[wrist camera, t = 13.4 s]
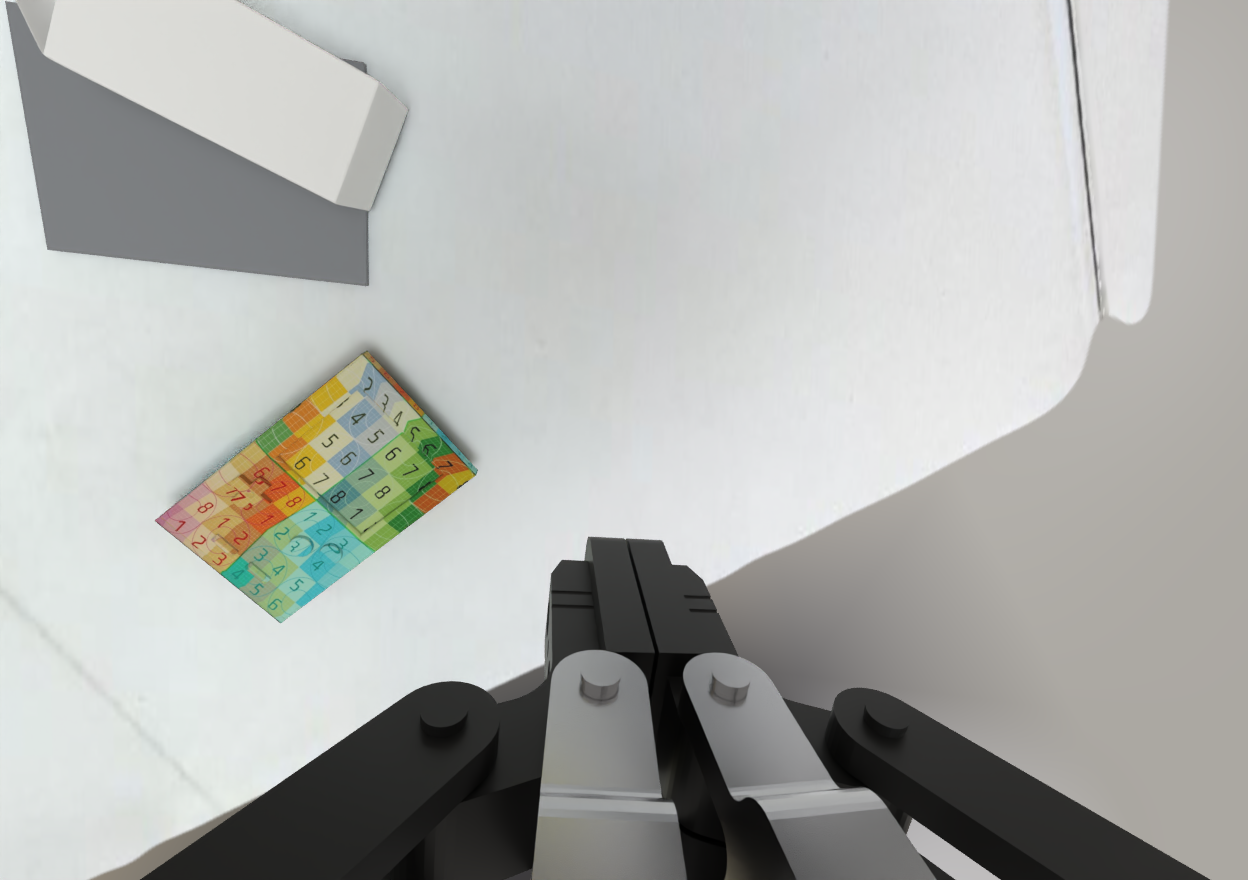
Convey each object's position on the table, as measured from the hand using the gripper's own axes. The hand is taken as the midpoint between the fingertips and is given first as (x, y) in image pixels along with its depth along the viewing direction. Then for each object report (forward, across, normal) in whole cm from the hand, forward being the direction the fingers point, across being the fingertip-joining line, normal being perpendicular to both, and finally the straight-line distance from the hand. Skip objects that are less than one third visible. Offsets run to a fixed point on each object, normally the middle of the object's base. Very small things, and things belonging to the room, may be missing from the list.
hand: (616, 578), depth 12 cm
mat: (+35, +24, -9) cm, 44 cm away
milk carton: (+31, +13, -10) cm, 35 cm away
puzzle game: (+36, +17, +14) cm, 42 cm away
